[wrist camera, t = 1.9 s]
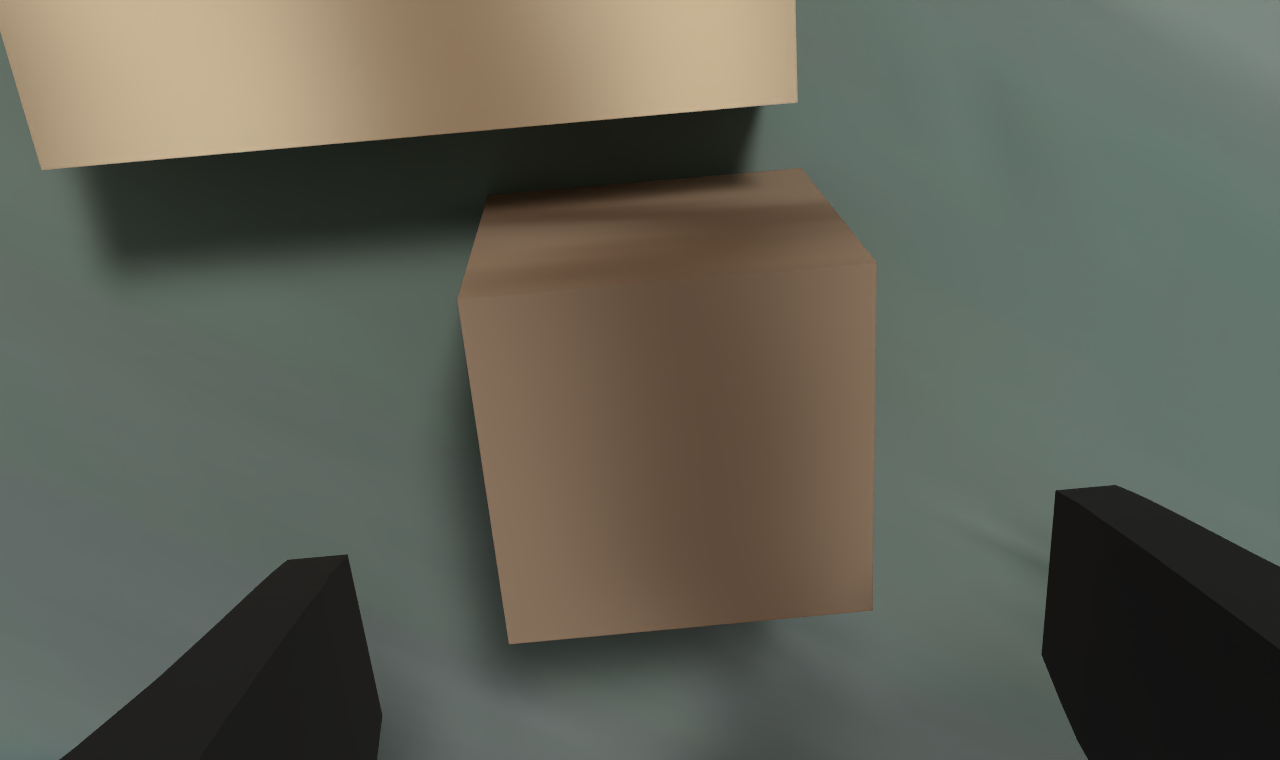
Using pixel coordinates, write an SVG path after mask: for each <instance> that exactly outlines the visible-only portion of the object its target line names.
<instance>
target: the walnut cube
mask: <svg viewBox="0 0 1280 760" xmlns="http://www.w3.org/2000/svg"><path fill="white" fill-rule="evenodd" d="M876 274H877V263H876V261H875V260H874V259H873V257H872V256H871V255H870V254H869V252H868V251H867V250H866V249H865V247H864V246H863V245H862V244H861V242H860V241H859V240H858V239H857V237H856V236H855V235H854V234H853V232H852V231H851V230H850V229H849V227H848V226H847V225H846V224H845V222H844V221H843V220H842V218H841V217H840V216H839V215H838V213H837V212H836V211H835V210H834V208H833V207H832V206H831V205H830V203H829V202H828V201H827V200H826V198H825V197H824V196H823V195H822V193H821V192H820V191H819V190H818V188H817V187H816V186H815V185H814V183H813V182H812V181H811V180H810V178H809V177H808V176H807V174H806V173H805V172H804V171H803V169H802V168H796V169H784V170H773V171H761V172H750V173H738V174H726V175H715V176H703V177H691V178H680V179H668V180H657V181H645V182H633V183H622V184H610V185H599V186H587V187H575V188H564V189H552V190H540V191H529V192H517V193H506V194H494V195H488V197H487V200H486V203H485V207H484V210H483V214H482V217H481V220H480V224H479V227H478V231H477V234H476V237H475V241H474V244H473V248H472V251H471V255H470V258H469V261H468V265H467V268H466V272H465V275H464V278H463V282H462V285H461V289H460V292H459V295H458V299H457V301H458V308H459V314H460V321H461V328H462V334H463V341H464V348H465V354H466V361H467V368H468V374H469V381H470V388H471V394H472V401H473V408H474V414H475V421H476V428H477V434H478V441H479V448H480V454H481V461H482V468H483V474H484V481H485V488H486V494H487V501H488V508H489V514H490V521H491V528H492V534H493V541H494V548H495V554H496V561H497V568H498V574H499V581H500V588H501V594H502V601H503V608H504V614H505V621H506V628H507V634H508V641H509V644H517V643H528V642H539V641H550V640H560V639H571V638H582V637H593V636H603V635H614V634H625V633H636V632H647V631H657V630H668V629H679V628H690V627H700V626H711V625H722V624H733V623H743V622H754V621H765V620H776V619H786V618H797V617H808V616H819V615H829V614H840V613H851V612H862V611H872V610H873V549H874V457H875V365H876Z"/></svg>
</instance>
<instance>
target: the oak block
mask: <svg viewBox="0 0 1280 760" xmlns="http://www.w3.org/2000/svg"><path fill="white" fill-rule="evenodd" d="M0 32H1V35H2V38H3V42H4V45H5V48H6V52H7V55H8V59H9V62H10V65H11V69H12V72H13V75H14V79H15V82H16V85H17V89H18V92H19V96H20V99H21V102H22V106H23V109H24V112H25V116H26V119H27V122H28V126H29V129H30V132H31V136H32V139H33V143H34V146H35V149H36V153H37V156H38V159H39V163H40V166H41V169H42V170H47V169H58V168H70V167H81V166H92V165H103V164H114V163H125V162H137V161H148V160H159V159H170V158H181V157H192V156H204V155H215V154H226V153H237V152H248V151H259V150H271V149H282V148H293V147H304V146H315V145H326V144H337V143H349V142H360V141H371V140H382V139H393V138H404V137H416V136H427V135H438V134H449V133H460V132H471V131H483V130H494V129H505V128H516V127H527V126H538V125H550V124H561V123H572V122H583V121H594V120H605V119H617V118H628V117H639V116H650V115H661V114H672V113H684V112H695V111H706V110H717V109H728V108H739V107H751V106H762V105H773V104H784V103H795V102H797V56H796V11H795V0H0Z"/></svg>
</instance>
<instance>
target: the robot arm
mask: <svg viewBox="0 0 1280 760" xmlns="http://www.w3.org/2000/svg"><path fill="white" fill-rule="evenodd" d="M1042 657H1043V659H1044V662H1045V664H1046V667H1047V669H1048V672H1049V674H1050V677H1051V679H1052V682H1053V684H1054V687H1055V689H1056V692H1057V694H1058V697H1059V699H1060V702H1061V704H1062V706H1063V709H1064V711H1065V713H1066V715H1067V718H1068V720H1069V722H1070V724H1071V727H1072V729H1073V731H1074V734H1075V736H1076V738H1077V740H1078V742H1079V744H1080V746H1081V748H1082V749H1083V751H1084V753H1085V755H1086V756H1087V758H1088V760H1280V567H1279V566H1277V565H1275V564H1273V563H1271V562H1269V561H1267V560H1265V559H1263V558H1261V557H1259V556H1257V555H1255V554H1254V553H1252V552H1250V551H1248V550H1246V549H1244V548H1242V547H1240V546H1238V545H1236V544H1234V543H1232V542H1230V541H1228V540H1227V539H1225V538H1223V537H1221V536H1219V535H1217V534H1215V533H1213V532H1211V531H1209V530H1207V529H1205V528H1204V527H1202V526H1200V525H1198V524H1196V523H1194V522H1192V521H1190V520H1188V519H1186V518H1184V517H1182V516H1180V515H1178V514H1177V513H1175V512H1173V511H1171V510H1169V509H1167V508H1165V507H1163V506H1161V505H1159V504H1157V503H1155V502H1153V501H1151V500H1148V499H1146V498H1144V497H1142V496H1140V495H1138V494H1136V493H1133V492H1131V491H1129V490H1126V489H1124V488H1121V487H1119V486H1116V485H1111V486H1100V487H1089V488H1078V489H1067V490H1056V492H1055V504H1054V516H1053V528H1052V539H1051V551H1050V563H1049V574H1048V586H1047V598H1046V610H1045V621H1044V633H1043V645H1042ZM381 722H382V712H381V707H380V703H379V698H378V693H377V689H376V684H375V679H374V675H373V670H372V665H371V661H370V656H369V652H368V647H367V642H366V638H365V633H364V628H363V624H362V619H361V614H360V610H359V605H358V601H357V596H356V591H355V587H354V582H353V577H352V573H351V568H350V564H349V559H348V555H337V556H325V557H314V558H303V559H292V560H287V561H286V562H284V563H283V564H282V565H281V566H280V567H278V568H277V569H276V570H275V571H274V572H272V573H271V574H270V575H269V576H268V577H267V578H266V579H265V580H263V581H262V582H261V583H260V584H259V585H258V586H257V587H256V588H255V589H254V590H253V591H252V592H250V593H249V594H248V595H247V596H246V597H245V598H244V599H243V600H242V601H241V602H240V603H239V604H238V605H237V606H236V607H234V608H233V609H232V610H231V611H230V612H229V613H228V614H227V615H226V616H225V617H224V618H223V619H222V620H221V621H220V622H219V623H217V624H216V625H215V626H214V627H213V628H212V629H211V630H210V631H209V632H208V633H207V634H206V635H204V636H203V637H202V638H201V639H200V640H199V641H198V642H197V643H196V644H195V645H194V646H192V647H191V648H190V649H189V650H188V651H187V652H186V653H185V654H184V655H183V656H182V657H180V658H179V659H178V660H177V661H176V662H175V663H174V664H173V665H172V666H171V667H170V668H168V669H167V670H166V671H165V672H164V673H163V674H162V675H161V676H160V677H159V678H157V679H156V680H155V681H154V682H153V683H152V684H150V685H149V686H148V687H147V688H146V689H144V690H143V691H142V692H141V693H140V694H138V695H137V696H136V697H135V698H134V699H133V700H131V701H130V702H129V703H128V704H127V705H125V706H124V707H123V708H122V709H121V710H119V711H118V712H117V713H116V714H115V715H113V716H112V717H111V718H110V719H109V720H107V721H106V722H105V723H104V724H103V725H102V726H100V727H99V728H98V729H97V730H96V731H94V732H93V733H92V734H91V735H90V736H88V737H87V738H86V739H85V740H84V741H82V742H81V743H80V744H79V745H78V746H76V747H75V748H74V749H73V750H71V751H70V752H69V753H68V754H66V755H65V756H64V757H62V758H61V759H60V760H377V754H378V746H379V738H380V730H381Z"/></svg>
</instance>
